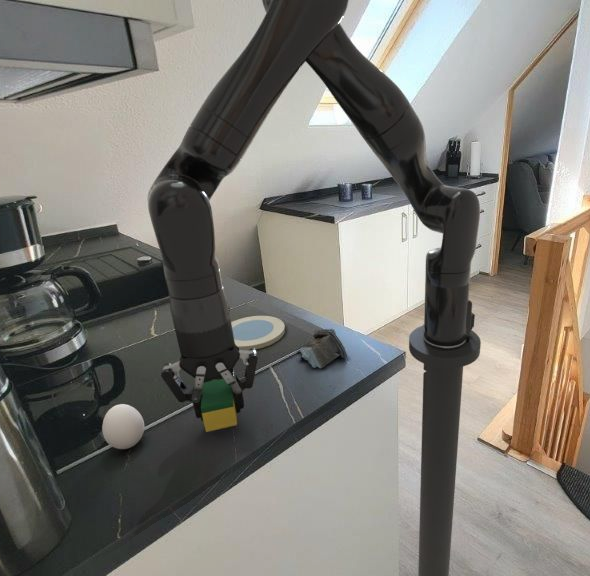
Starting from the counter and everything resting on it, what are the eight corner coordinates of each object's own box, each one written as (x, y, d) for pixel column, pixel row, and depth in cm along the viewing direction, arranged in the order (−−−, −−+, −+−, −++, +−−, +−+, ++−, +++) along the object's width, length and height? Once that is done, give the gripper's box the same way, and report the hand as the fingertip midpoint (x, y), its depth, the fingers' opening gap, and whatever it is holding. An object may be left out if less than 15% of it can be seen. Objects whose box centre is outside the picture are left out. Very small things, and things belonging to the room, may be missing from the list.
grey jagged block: (288, 351, 88) (293, 335, 78) (314, 332, 92) (322, 315, 81) (315, 385, 87) (324, 373, 77) (340, 365, 91) (352, 351, 80)
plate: (281, 315, 104) (280, 311, 103) (289, 343, 91) (288, 338, 90) (219, 325, 99) (218, 321, 99) (217, 356, 86) (216, 351, 86)
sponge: (207, 404, 67) (202, 382, 66) (236, 398, 69) (232, 376, 67) (205, 432, 61) (200, 408, 60) (237, 425, 63) (232, 401, 61)
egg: (128, 461, 60) (114, 421, 57) (101, 453, 61) (86, 414, 58) (156, 436, 64) (145, 398, 61) (130, 430, 66) (118, 392, 63)
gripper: (142, 339, 53) (170, 441, 60) (255, 321, 57) (269, 417, 64) (151, 315, 60) (175, 409, 66) (252, 301, 64) (265, 390, 71)
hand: (221, 413), depth 65 cm, fingers closed on sponge, 4 cm apart
